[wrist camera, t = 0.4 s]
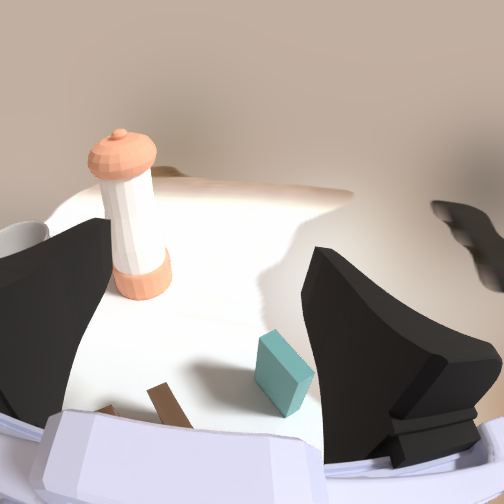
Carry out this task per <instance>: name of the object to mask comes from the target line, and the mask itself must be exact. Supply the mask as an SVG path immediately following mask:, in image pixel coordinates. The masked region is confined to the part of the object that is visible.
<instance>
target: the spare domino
mask: <svg viewBox="0 0 504 504" xmlns="http://www.w3.org/2000/svg"><path fill="white" fill-rule="evenodd" d="M314 373H315V372H314V371H313V370H312V369H311V368H310V367H309V366H308V365H307V364H306V363H305V361H304V360H303V359H302V358H301V357H300V356H299V355H298V354H297V353H296V352H295V350H294V349H293V348H292V347H291V346H290V345H289V344H288V343H287V342H286V341H285V339H284V338H283V337H282V336H281V335H280V334H279V333H278V332H277V330H276V329H275V330H273V331H271V332H269V333H267V334H265V335H263V336H262V337H260V338H259V344H258V352H257V361H256V370H255V378H254V380H255V381H256V382H257V383H258V385H259V386H260V387H261V389H262V390H263V391H264V392H265V394H266V395H267V396H268V397H269V399H270V400H271V401H272V402H273V404H274V405H275V406H276V407H277V408H278V410H279V411H280V412H281V413H282V415H283V416H284V417H285V418H286V417H288V416H289V415H291V414H293V413H294V412H296V411H297V410H299V409H300V406H301V404H302V402H303V400H304V397H305V395H306V393H307V390H308V388H309V386H310V383H311V381H312V379H313V376H314Z"/></svg>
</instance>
